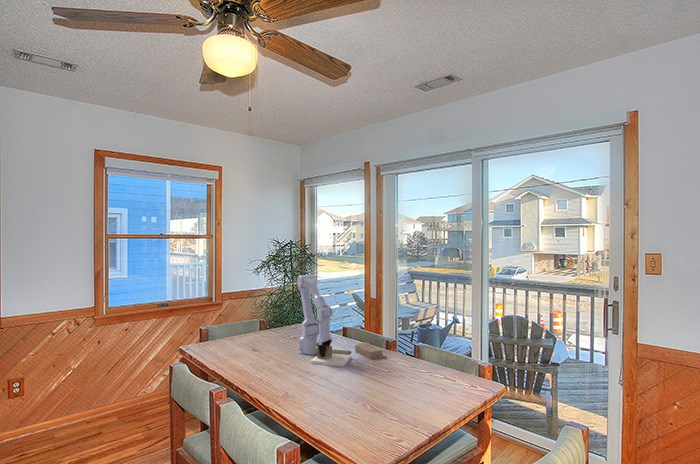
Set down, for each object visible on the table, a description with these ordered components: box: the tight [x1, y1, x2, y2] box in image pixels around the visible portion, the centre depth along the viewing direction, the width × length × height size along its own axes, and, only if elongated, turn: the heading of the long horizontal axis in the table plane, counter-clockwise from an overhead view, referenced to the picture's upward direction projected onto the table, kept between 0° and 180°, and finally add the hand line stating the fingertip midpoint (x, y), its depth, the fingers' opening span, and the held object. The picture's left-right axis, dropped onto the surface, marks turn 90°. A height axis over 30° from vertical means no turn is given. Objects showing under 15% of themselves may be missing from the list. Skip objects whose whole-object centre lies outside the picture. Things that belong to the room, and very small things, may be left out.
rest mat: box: [332, 349, 352, 355], centre depth 210 cm, size 12×8×1 cm, turn 74°
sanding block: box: [316, 345, 333, 359], centre depth 199 cm, size 7×5×5 cm
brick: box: [354, 342, 383, 360], centre depth 208 cm, size 17×8×5 cm, turn 32°
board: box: [310, 354, 352, 367], centre depth 198 cm, size 18×14×2 cm
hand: (324, 354), depth 199 cm, fingers closed on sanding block, 5 cm apart
